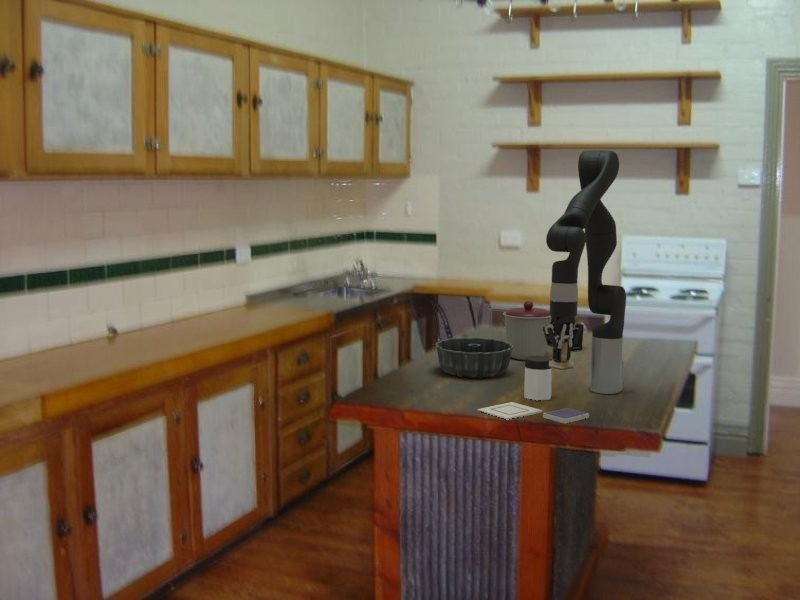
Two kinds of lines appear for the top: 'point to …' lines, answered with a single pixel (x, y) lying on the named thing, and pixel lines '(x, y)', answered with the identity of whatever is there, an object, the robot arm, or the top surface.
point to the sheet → (510, 410)
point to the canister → (527, 330)
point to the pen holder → (578, 341)
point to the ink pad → (565, 415)
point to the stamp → (562, 359)
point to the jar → (538, 378)
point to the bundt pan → (474, 356)
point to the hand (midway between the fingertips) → (561, 360)
